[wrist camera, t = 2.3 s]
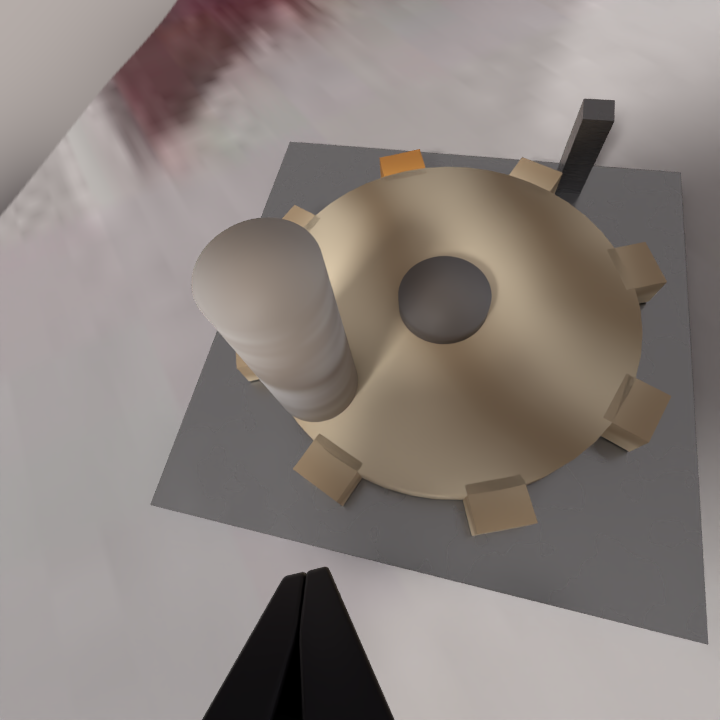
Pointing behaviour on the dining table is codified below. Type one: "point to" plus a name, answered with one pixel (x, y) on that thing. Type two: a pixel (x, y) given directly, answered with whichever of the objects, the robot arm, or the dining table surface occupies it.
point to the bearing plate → (548, 495)
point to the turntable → (440, 332)
